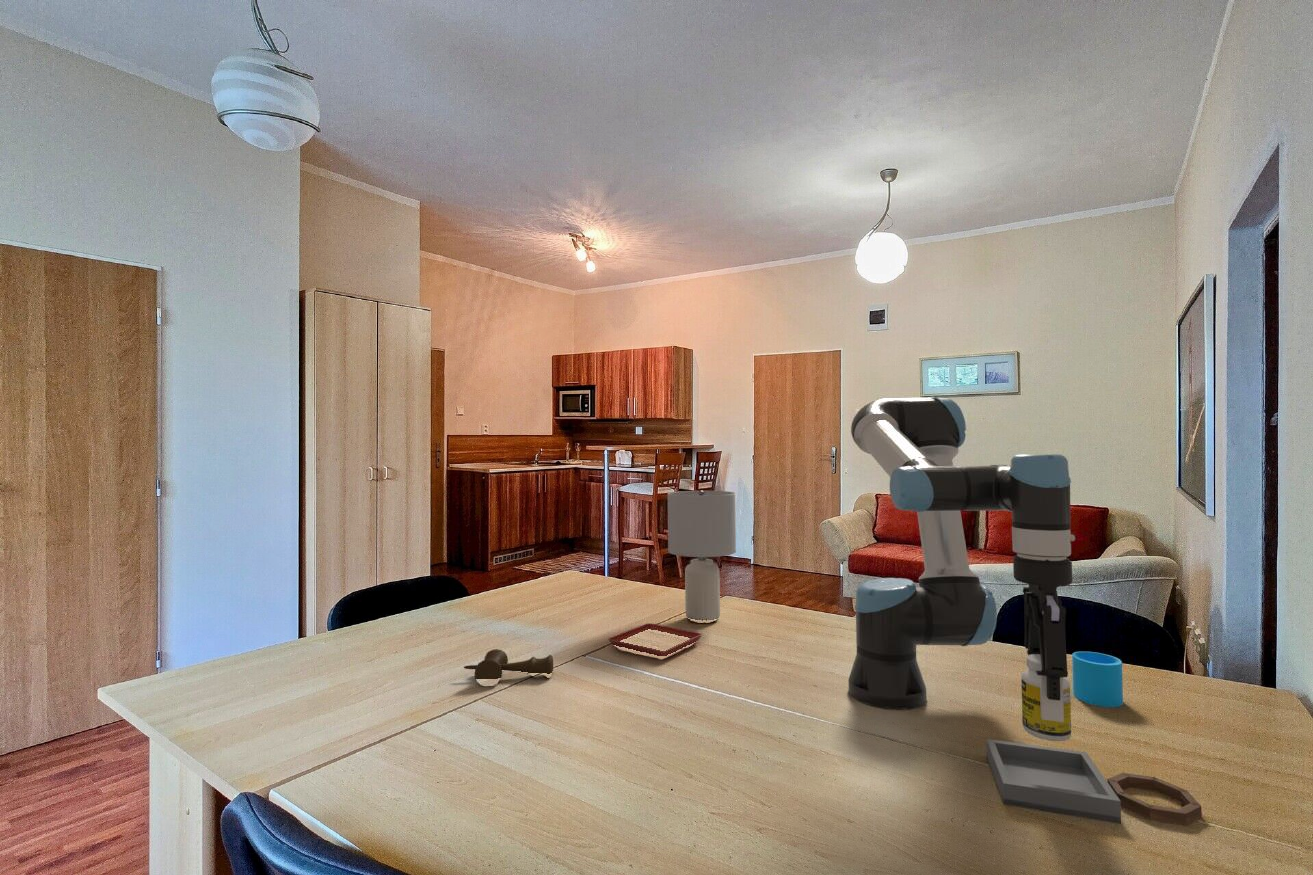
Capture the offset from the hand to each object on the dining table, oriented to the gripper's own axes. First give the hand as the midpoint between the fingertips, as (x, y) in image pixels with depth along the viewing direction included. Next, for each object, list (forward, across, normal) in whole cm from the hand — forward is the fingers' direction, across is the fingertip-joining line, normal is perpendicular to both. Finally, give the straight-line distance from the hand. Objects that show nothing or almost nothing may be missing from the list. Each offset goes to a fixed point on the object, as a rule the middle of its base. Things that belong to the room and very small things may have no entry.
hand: (1045, 709), depth 91 cm
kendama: (+12, +13, +102) cm, 104 cm away
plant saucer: (+12, +43, +78) cm, 90 cm away
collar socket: (+12, 0, -13) cm, 17 cm away
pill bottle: (+4, 0, 0) cm, 4 cm away
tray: (+12, 0, 0) cm, 12 cm away
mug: (+12, +42, -18) cm, 47 cm away
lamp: (+11, +71, +73) cm, 103 cm away
